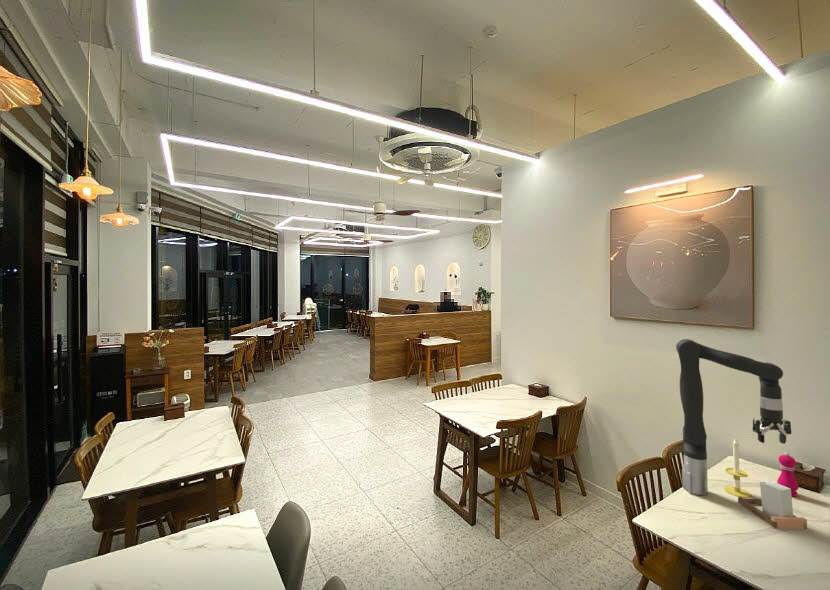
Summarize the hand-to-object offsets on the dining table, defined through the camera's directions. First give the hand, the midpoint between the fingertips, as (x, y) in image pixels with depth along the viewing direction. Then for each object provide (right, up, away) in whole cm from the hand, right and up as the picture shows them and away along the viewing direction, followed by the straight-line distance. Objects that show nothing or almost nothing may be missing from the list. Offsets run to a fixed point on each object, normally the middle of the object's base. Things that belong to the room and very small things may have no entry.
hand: (772, 442), depth 166 cm
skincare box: (-7, -30, -9) cm, 32 cm away
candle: (-5, -30, +13) cm, 33 cm away
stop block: (-8, -29, -15) cm, 34 cm away
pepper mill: (+18, -29, +11) cm, 36 cm away
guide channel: (-7, -30, -6) cm, 31 cm away
